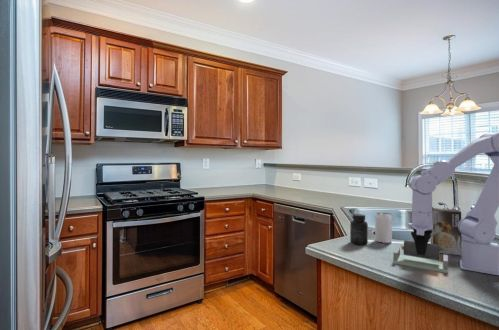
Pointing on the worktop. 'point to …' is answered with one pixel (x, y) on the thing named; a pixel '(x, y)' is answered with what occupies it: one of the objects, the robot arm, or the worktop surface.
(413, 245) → the cell
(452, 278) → the worktop surface
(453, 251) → the coffee box
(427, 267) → the holder
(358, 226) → the supplement bottle
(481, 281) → the worktop surface
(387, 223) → the can
